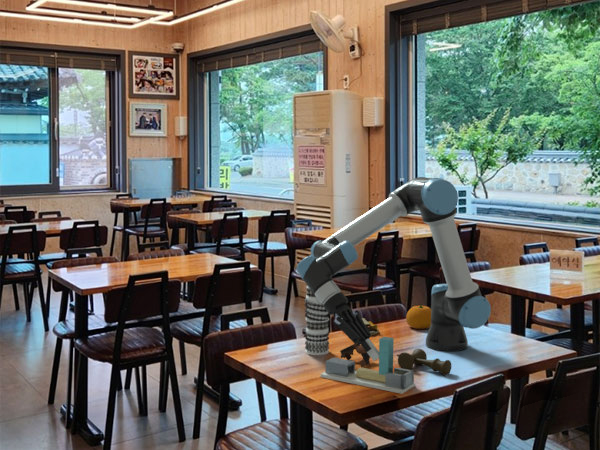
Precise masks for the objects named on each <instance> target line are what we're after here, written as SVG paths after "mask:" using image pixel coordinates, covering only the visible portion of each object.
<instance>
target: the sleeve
mask: <svg viewBox="0 0 600 450" xmlns="http://www.w3.org/2000/svg"><path fill="white" fill-rule="evenodd" d="M324 363H325V368H324V372H325V373H329V374H334V375H339V376H344V377H348V373H353V374H354V373H355V371H356V361H354V360H351V359H350V360H347V359H346V358H340V357H339V358H338V357H332V358H330V359H326V360H325V362H324Z"/></svg>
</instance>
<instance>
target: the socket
mask: <svg viewBox="0 0 600 450" xmlns="http://www.w3.org/2000/svg"><path fill="white" fill-rule="evenodd" d="M414 383H415V371H414V370H413V369H411V370H407V369H402V368H400V367H397V366H396V367H395V368H394V367H393V373H391V372H387V373H386V380H385V386H388V387H393V388H398V389H403V390H404V389H405V388H407V387H409V386H410V385H412V384H414Z"/></svg>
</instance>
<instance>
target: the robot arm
mask: <svg viewBox="0 0 600 450" xmlns="http://www.w3.org/2000/svg"><path fill="white" fill-rule="evenodd" d="M458 196H459V195H458V191H457V189H456V187H455V186H454V184H452V182H450V181H449V180H446V179H444V178H440V177H425V176H418V177H415V178H413V179H410V180H408V181H407V182H405V183H404V184H402V185H400V186H399V187H397V188H396V189H395V190H393V191H391V192H390V193H389V194H388V198H387V199H385V200H383V201H382V202H380V203H378V204H377V205H376V206H374V207H373V208H371V209H369V210H368V211H367V212H365V213H363V215H361V216H359V217H357V218H355V220H353V221H351V222H349V223H348V224H347V225H345V226H344V227H342V228H341V229H340V230H338V231H337V232H335V233H334V234H332V235H331V236H329V237H327V238H325V239H323V240H322V239H321V240H320V239H319V240H317V241H315V242H314V243H313V244H312V245H311V246H310V254H311V255H308V256H306V257H304V258H302V260H300V261H299V262H298V263H297V266H296V272H297V273H298V275H299V276H300V278H301V279H302V281H303V282H304V284H306V286H308V287H309V288H310V290H311V291H312V292H313V293H314V295H315V296H316V297H317V299H318V300H319V301H320V303H321V304H324V308H325V310H326V311H327V312H328V314H329V315H330V316H332V315H333V318H334V320H333V321H332V323H333V324H334V325H335V326H337V327H338V329H339V330H341V331H342V333H343V334H345V335H346V336H347V337H348V338H349V340H350V341H351V342H352V343H353V344H357V343H358V344H357V346H359V345H362V347H363V348H364V349H365V351H366V352H367V353H368V354H369V356H370V359H371V360H372V362H375V361H377V360H379V349H377V347H376V346H375V344H374V343H373V342H372V340H371V339H370V338H371V337H372V336H371V334H370V332H369V330H368V328H367V327H366V325H365V323H364V322H363V320H362V318H363V317H361V315H360V314H361V313H360V311H359V310H357V309H356V310H353V309H352V307H350V306H349V305H348V303H349V299H348V298H347V297H346V295H345V294H344V292H341V289H340V287H339V286H338V285H337V283H335V281H334V280H333V278H332V277H333V276H334V277H335V275H336V274H338V273H340V272H341V271H342V270H344V269H346V268H347V267H349V266H351V265H352V264H353V263H354V262H355V261H356V260H358V258H359V255H358V252H357V249H356V248H355V246H357V245H359V244H361V243H362V242H363V241H365V240H366V239H368V238H369V237H371V236H372V235H374V234H375V233H377V232H378V231H380V230H382V229H383V228H384V227H386V226H387V225H388V224H389V225H390V224H391V223H392V222H393V221H395V220H396V219H398V218H399V217H406V216H408V215H409V214H411V213H414V212H419V213H420V215H421V218H422V222H423V223H424V224H426V225H428V226H429V229H430V233H431V236H432V240H433V243H434V247H435V249H436V252H437V256H438V258H439V262H440V265H441V268H442V272H443V275H444V278H445V282H446V283H439V284H434V285H433V286H432V288H431V294H430V296H431V301H430V304H431V305H430V309H431V326H430V328H428V331H427V335H426V338H425V346H426V347H427V348H429V349H432V350H437V351H444V352H447V351H448V352H454V351H455V352H458V351H462V350H463V349H464V350H466V349H467V348H468V347H469V346H468V343H469V341H468V337H467V333H466V331H465V328H466V329H467V328H468V329H479V328H480V327H482V326H484V325H485V324H486V323H487V321H488V319H489V318H490V315H491V312H492V311H491V309H492V307H491V303H490V302H489V300H488V299H487V298H486V297H485V296H482V293H481V290H480V286H479V284H478V283H477V282H474V281H473V279H472V276H471V272H470V269H469V265H468V263H467V258H466V254H465V252H464V248H463V244H462V241H461V238H460V235H459V232H458V228H457V224H456V221H455V217H456V215H457V212H458V211H457V208H456V207H457V203H458V202H459V197H458Z"/></svg>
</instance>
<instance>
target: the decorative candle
mask: <svg viewBox="0 0 600 450" xmlns="http://www.w3.org/2000/svg"><path fill="white" fill-rule="evenodd" d="M305 287H306V295H305V299H304V304H303V305H304V308H305V309H304V312H305V313H304V317H305V322H306V328H305V332H304V335H305V337H304V339H305V342H304V345H305V347H304V349H305V352H304V353H305V354H307V355H310V354H311V355H312V356H323V355H327V354H329V352H330V350H329V349H330V346H329V345H330V341H329V340H330V337H329V336H330V332H329V327H328V326H329V321H330V318H329V317H330V316H331V315H330V314H329V313H328V312H327V311H326V310H325V308H324V304H321V303H320V301H319V300H318V299H317V297H316V296H315V295H314V293H313V292H312V291H311V290H310V288H309V287H308V286H307V285H306V286H305ZM311 355H310V356H311Z"/></svg>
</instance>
